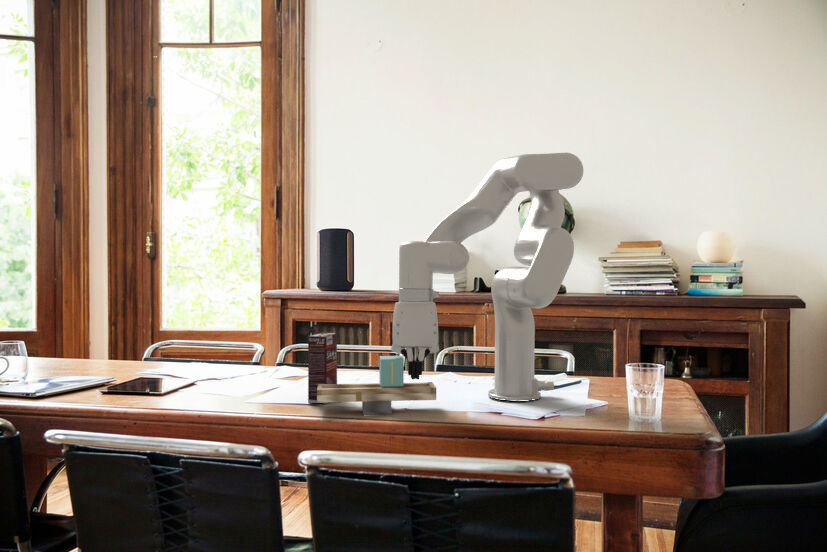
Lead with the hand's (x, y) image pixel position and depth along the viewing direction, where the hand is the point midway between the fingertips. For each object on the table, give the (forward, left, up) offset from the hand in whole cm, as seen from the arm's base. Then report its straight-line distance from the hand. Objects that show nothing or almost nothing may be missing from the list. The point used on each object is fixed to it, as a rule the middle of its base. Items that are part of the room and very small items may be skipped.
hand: (414, 378), depth 157 cm
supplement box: (+21, -13, -8) cm, 26 cm away
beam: (+9, 0, -7) cm, 11 cm away
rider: (+5, 0, -3) cm, 6 cm away
